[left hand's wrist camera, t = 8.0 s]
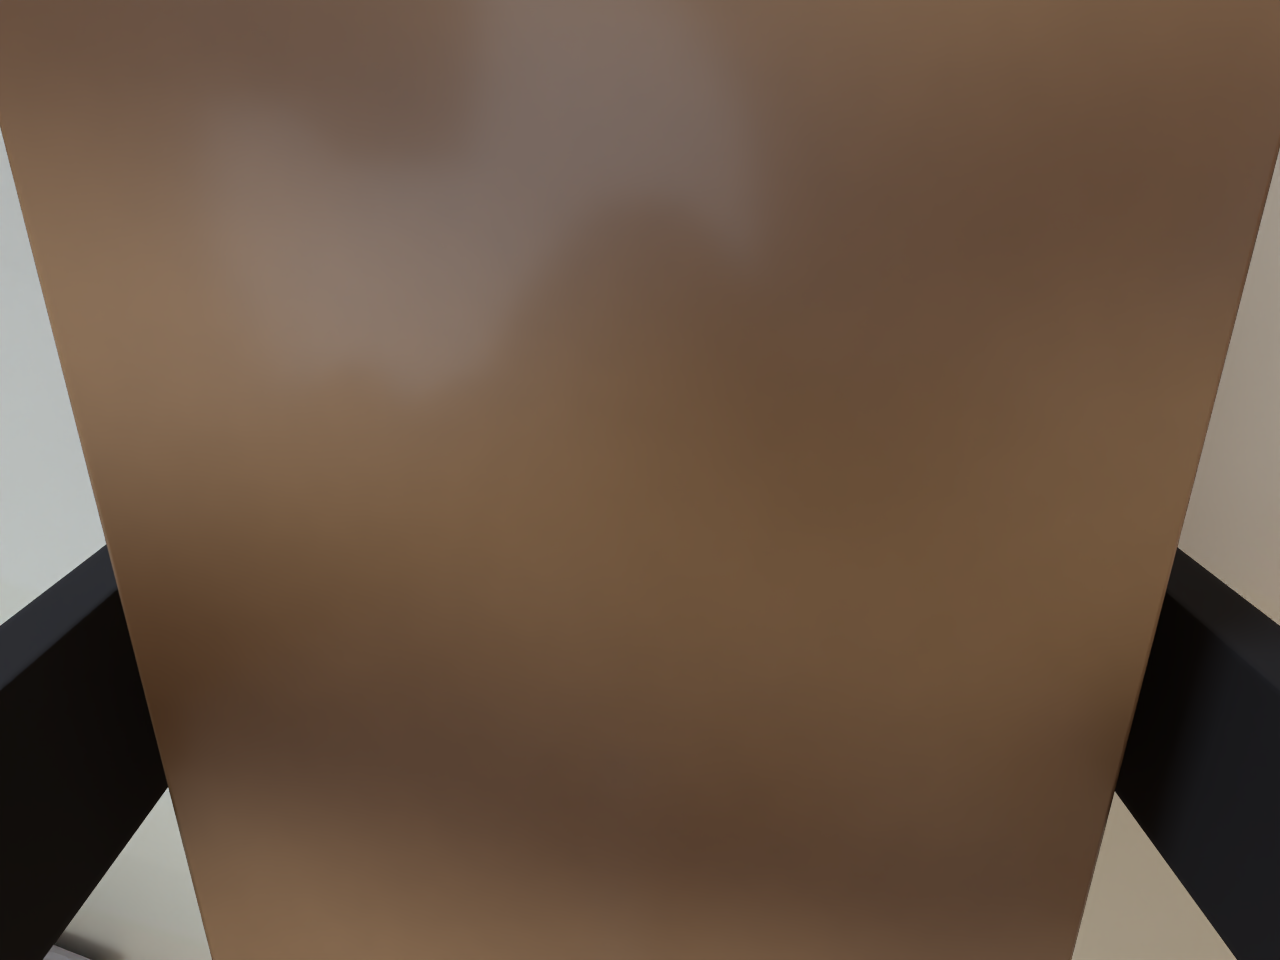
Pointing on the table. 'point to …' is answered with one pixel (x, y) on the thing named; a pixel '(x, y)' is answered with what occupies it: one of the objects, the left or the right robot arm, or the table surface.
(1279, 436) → the table surface
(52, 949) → the vintage mobile phone
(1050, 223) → the wooden rectangular block
